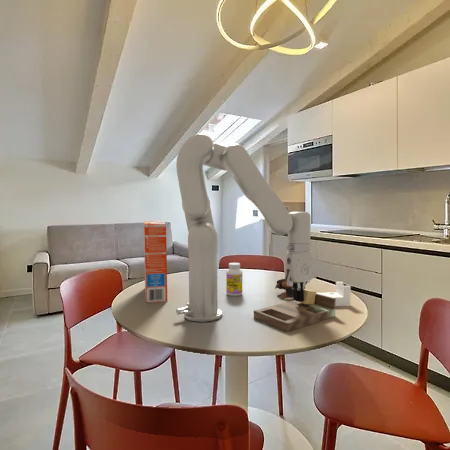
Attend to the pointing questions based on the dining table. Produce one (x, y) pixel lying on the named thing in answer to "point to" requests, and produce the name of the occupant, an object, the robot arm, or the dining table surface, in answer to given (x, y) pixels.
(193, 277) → the robot arm
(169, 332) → the dining table surface
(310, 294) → the block
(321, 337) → the dining table surface
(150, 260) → the orange cereal box
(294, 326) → the box
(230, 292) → the supplement bottle
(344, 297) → the bracket
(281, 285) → the pottery mug
